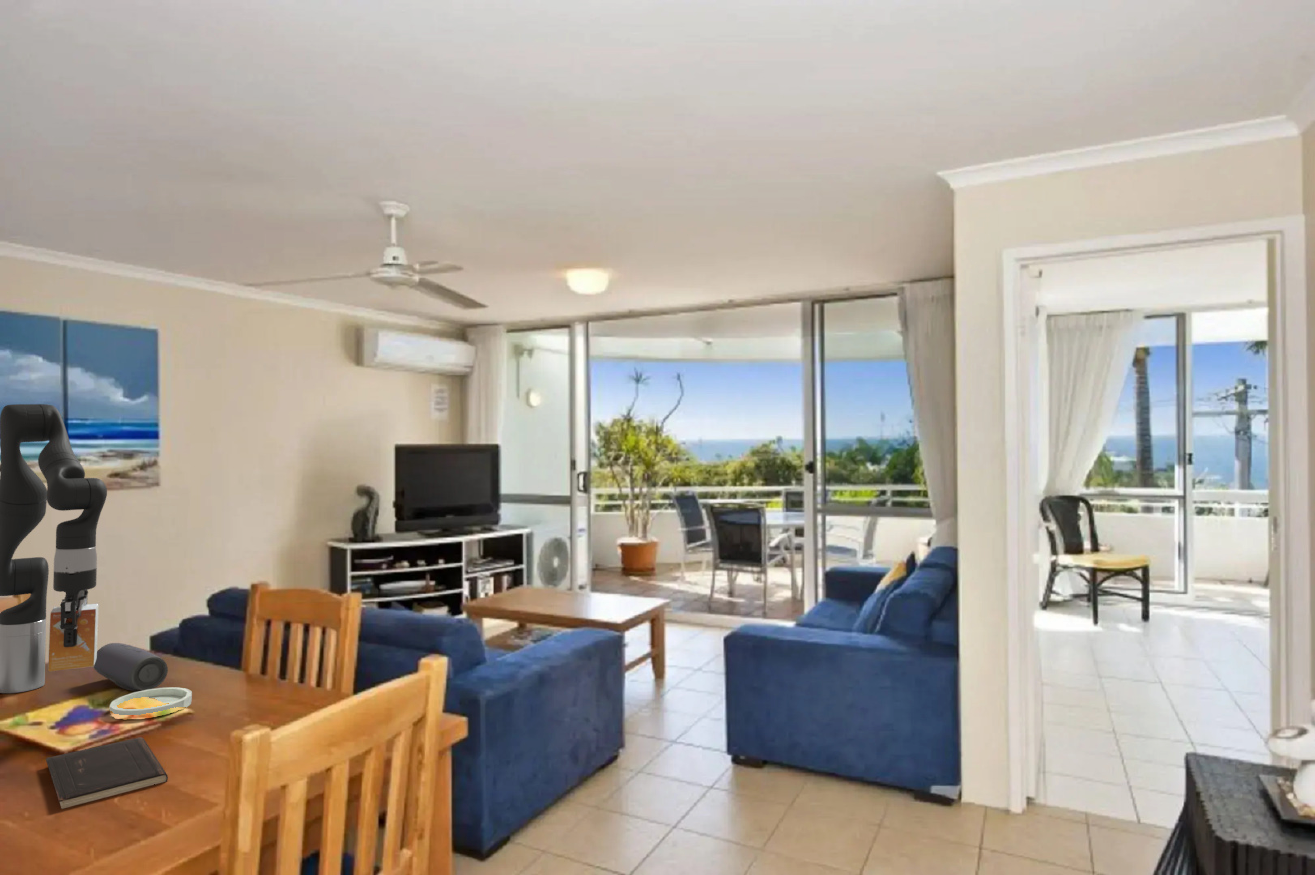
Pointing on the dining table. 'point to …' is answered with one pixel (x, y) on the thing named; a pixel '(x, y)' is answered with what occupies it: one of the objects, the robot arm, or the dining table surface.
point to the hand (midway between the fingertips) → (73, 642)
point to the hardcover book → (104, 771)
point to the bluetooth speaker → (130, 666)
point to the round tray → (165, 695)
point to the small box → (86, 640)
